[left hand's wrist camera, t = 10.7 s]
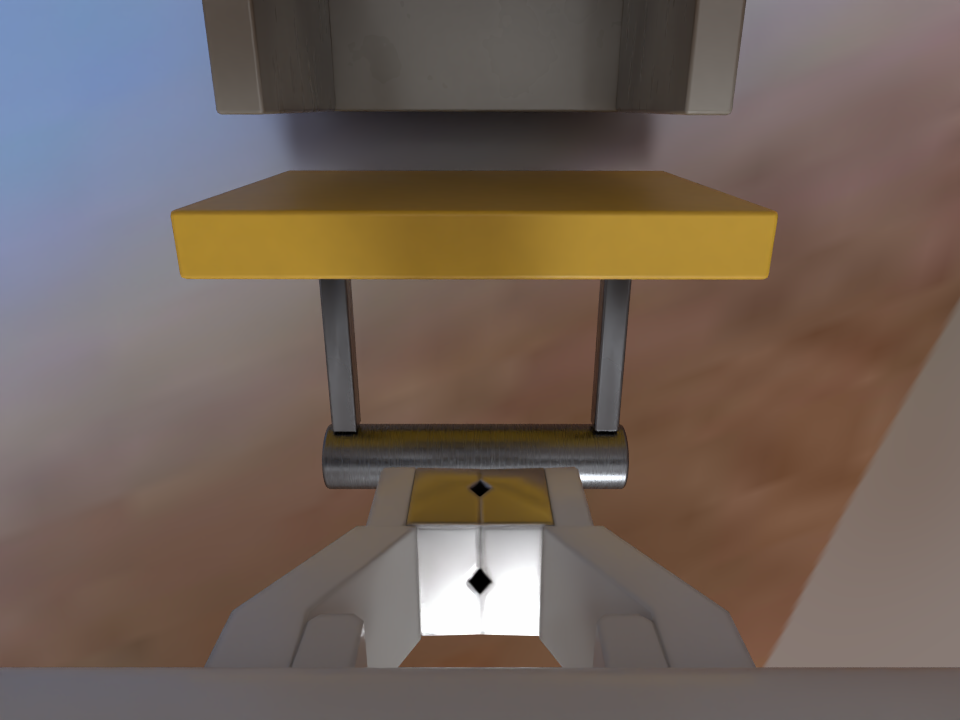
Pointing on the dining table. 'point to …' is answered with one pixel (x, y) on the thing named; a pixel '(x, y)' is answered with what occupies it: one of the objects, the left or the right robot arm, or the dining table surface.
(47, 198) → the dining table surface
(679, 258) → the drawer
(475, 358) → the dining table surface
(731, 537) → the dining table surface
